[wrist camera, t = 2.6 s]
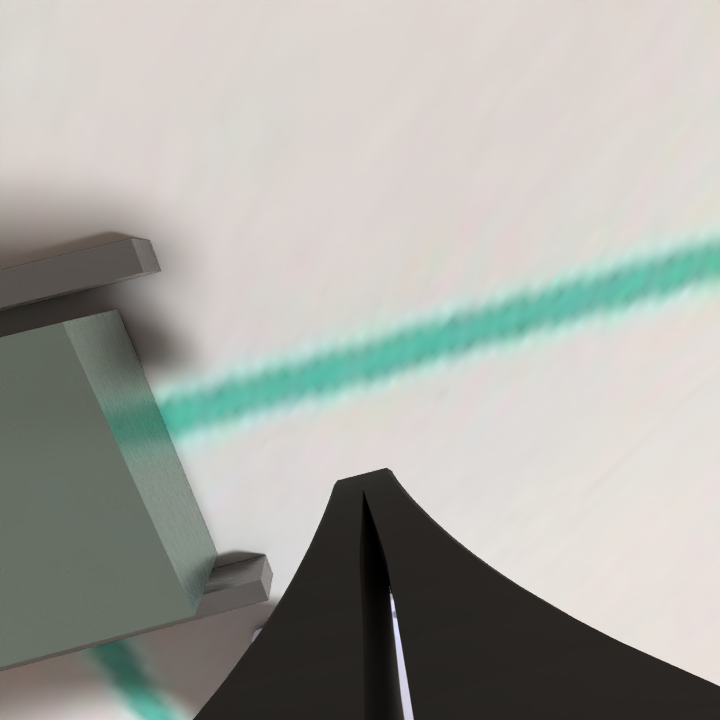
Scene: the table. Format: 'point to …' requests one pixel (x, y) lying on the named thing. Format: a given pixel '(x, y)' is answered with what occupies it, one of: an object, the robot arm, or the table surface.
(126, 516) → the sliding jaw
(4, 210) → the table surface
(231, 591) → the vise body
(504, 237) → the table surface
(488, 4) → the table surface
